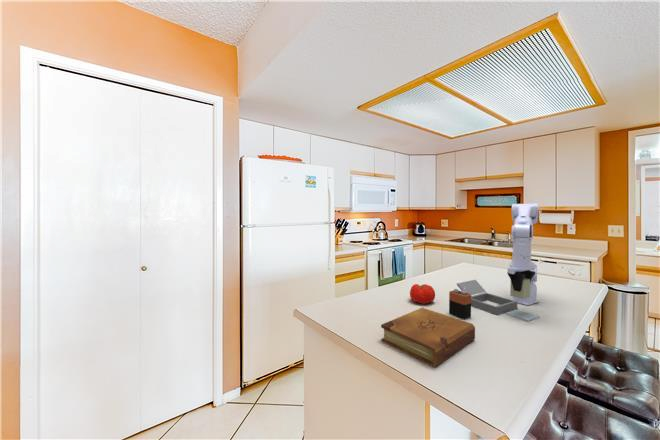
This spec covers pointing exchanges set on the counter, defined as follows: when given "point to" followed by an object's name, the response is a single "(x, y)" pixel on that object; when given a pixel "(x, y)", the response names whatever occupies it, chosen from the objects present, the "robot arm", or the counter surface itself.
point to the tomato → (422, 293)
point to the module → (524, 290)
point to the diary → (428, 335)
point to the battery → (460, 304)
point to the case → (486, 298)
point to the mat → (522, 315)
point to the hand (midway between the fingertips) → (520, 290)
